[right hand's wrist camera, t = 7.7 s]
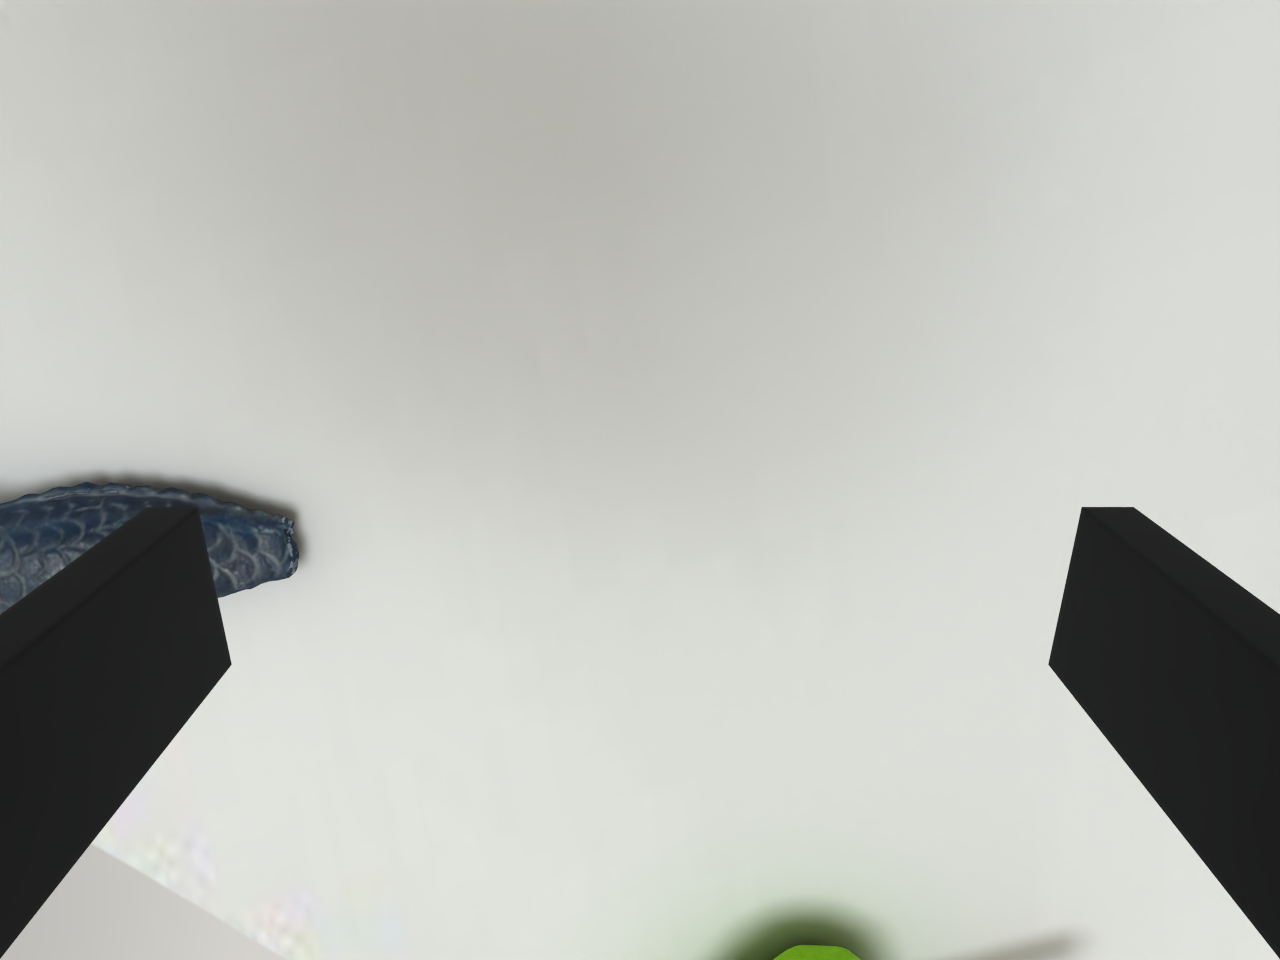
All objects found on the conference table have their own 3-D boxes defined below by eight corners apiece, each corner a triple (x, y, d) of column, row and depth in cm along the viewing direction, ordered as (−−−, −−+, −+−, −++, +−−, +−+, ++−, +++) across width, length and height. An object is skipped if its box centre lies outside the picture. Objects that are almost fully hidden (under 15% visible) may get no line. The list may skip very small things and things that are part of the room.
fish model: (-130, 482, 42) (-224, 526, 37) (289, 465, 42) (246, 506, 37) (-80, 599, 45) (-163, 653, 40) (314, 582, 44) (277, 635, 40)
